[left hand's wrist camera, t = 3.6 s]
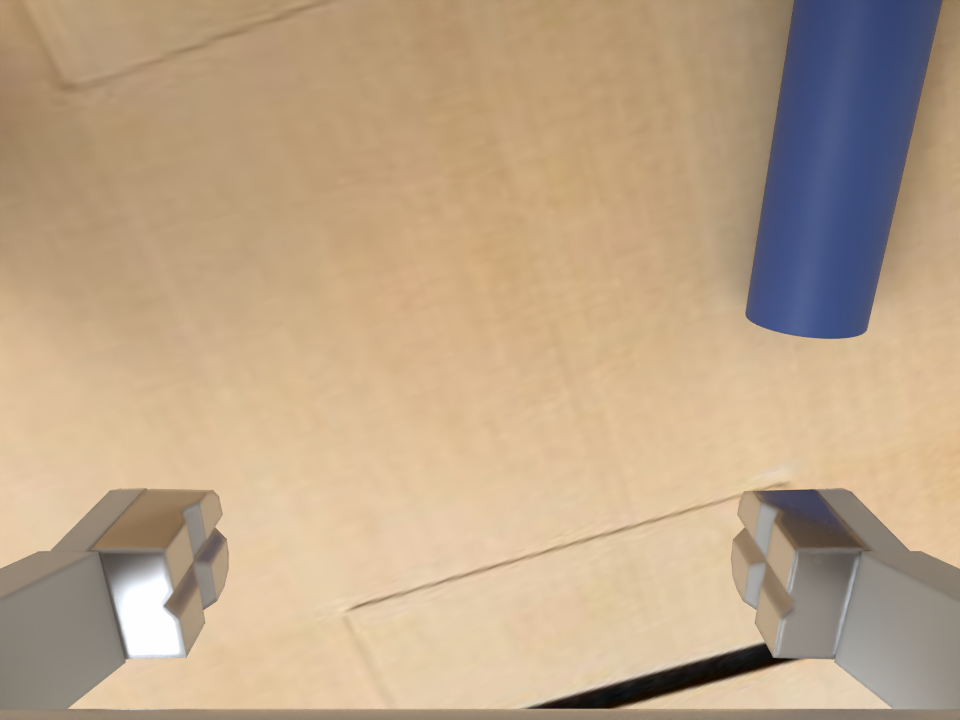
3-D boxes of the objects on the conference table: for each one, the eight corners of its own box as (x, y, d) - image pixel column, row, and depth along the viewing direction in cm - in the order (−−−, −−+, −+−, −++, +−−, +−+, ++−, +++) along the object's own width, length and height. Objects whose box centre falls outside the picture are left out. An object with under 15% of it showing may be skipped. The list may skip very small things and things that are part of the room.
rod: (831, 305, 39) (891, 339, 33) (729, 305, 38) (772, 339, 33) (931, -184, 30) (1035, -251, 24) (801, -185, 30) (874, -251, 24)
